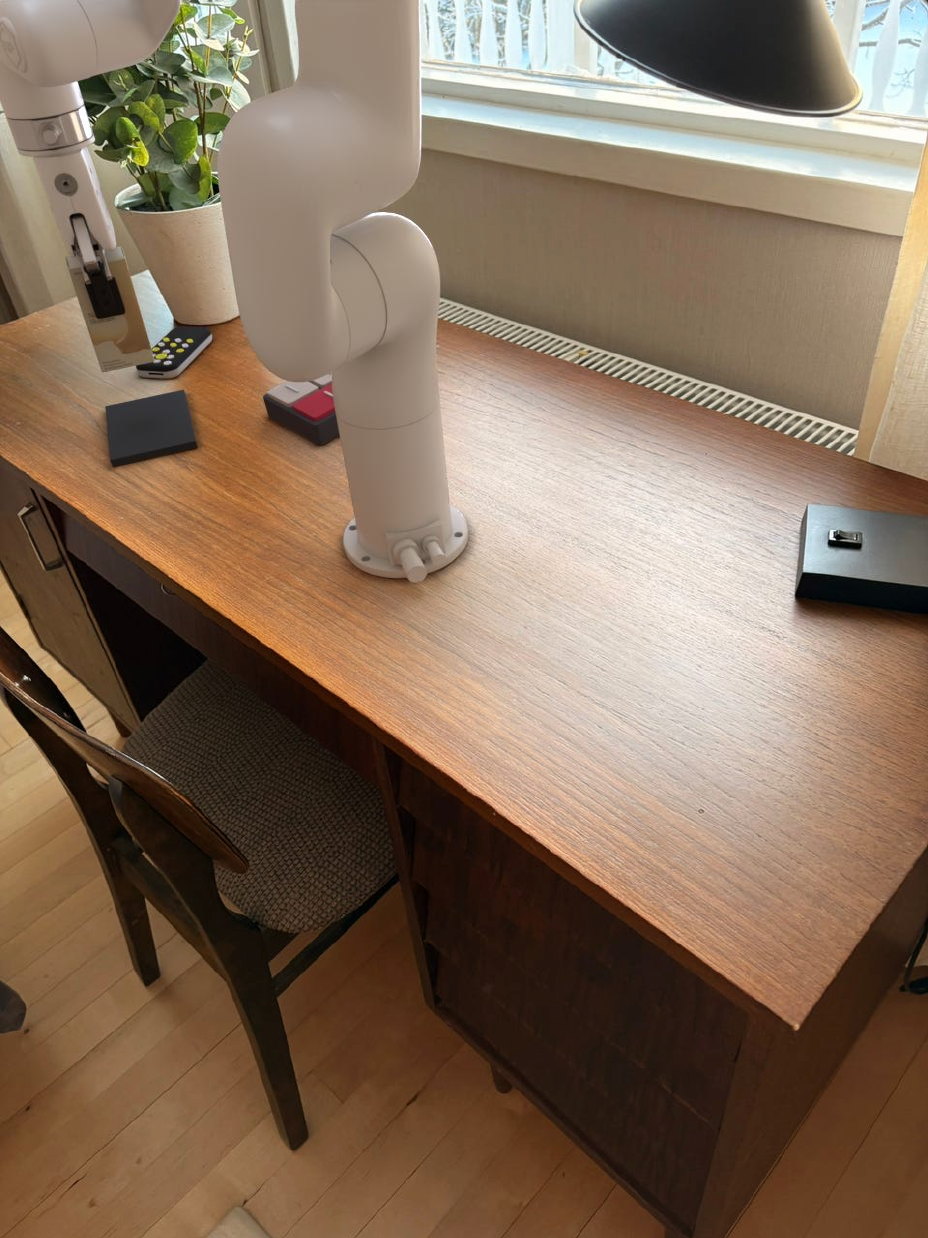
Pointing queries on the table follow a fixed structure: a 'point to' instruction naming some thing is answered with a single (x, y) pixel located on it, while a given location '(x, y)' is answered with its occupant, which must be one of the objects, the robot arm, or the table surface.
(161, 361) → the remote control
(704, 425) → the table surface
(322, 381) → the calculator
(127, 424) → the desk pad
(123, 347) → the cosmetic box
